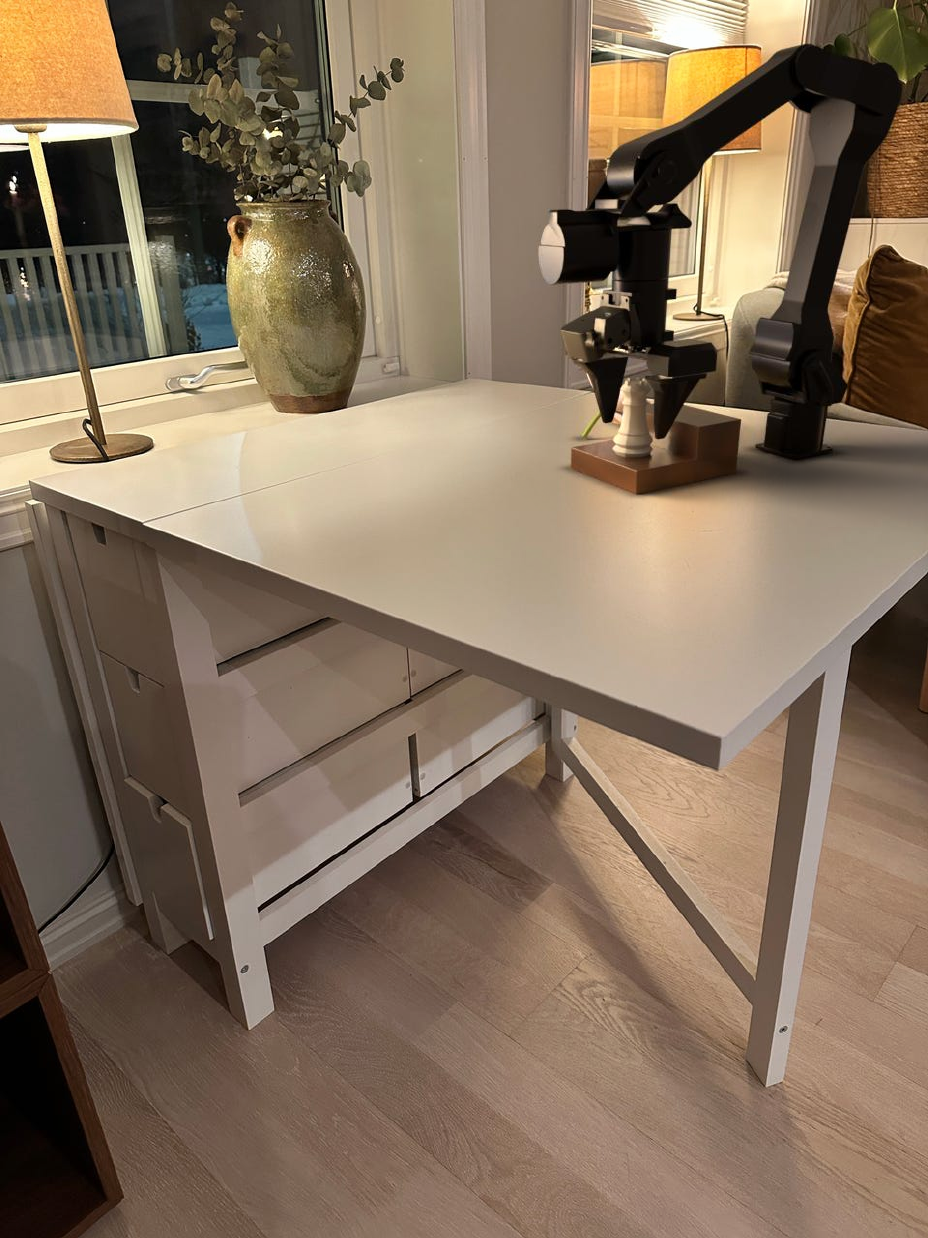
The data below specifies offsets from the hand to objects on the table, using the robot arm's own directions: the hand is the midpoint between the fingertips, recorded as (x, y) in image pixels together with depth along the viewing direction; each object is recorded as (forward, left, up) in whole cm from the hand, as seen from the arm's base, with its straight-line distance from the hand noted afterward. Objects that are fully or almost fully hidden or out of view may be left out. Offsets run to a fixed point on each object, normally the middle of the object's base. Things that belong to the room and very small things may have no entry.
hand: (632, 430), depth 97 cm
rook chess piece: (0, 0, -3) cm, 3 cm away
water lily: (-10, -15, -5) cm, 19 cm away
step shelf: (-4, 0, -5) cm, 6 cm away
